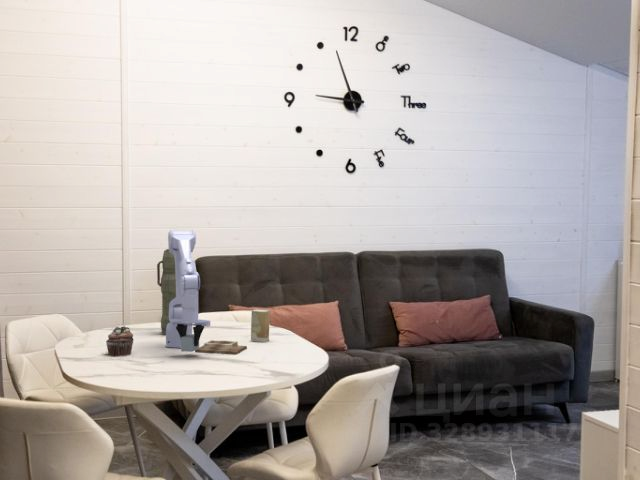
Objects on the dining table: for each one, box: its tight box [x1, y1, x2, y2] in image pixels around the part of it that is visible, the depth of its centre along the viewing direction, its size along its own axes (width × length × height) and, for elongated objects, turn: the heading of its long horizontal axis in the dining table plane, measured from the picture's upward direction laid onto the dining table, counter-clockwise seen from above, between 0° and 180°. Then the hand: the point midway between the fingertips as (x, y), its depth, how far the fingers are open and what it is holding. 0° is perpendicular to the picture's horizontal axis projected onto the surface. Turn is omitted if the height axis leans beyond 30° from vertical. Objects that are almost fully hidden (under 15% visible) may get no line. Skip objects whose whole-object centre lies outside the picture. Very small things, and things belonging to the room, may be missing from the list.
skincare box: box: [250, 309, 271, 343], centre depth 336 cm, size 6×4×12 cm
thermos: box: [156, 248, 182, 336], centre depth 350 cm, size 9×12×35 cm
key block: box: [180, 333, 200, 353], centre depth 304 cm, size 4×7×5 cm, turn 167°
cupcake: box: [105, 325, 134, 357], centre depth 307 cm, size 10×10×10 cm
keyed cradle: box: [194, 339, 248, 355], centre depth 315 cm, size 16×12×3 cm
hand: (190, 345), depth 304 cm, fingers closed on key block, 4 cm apart
